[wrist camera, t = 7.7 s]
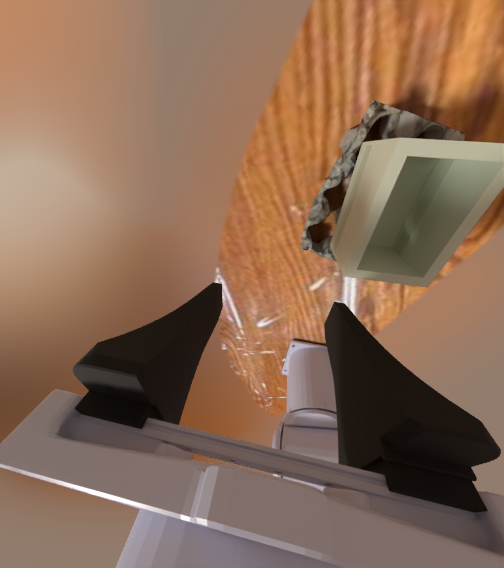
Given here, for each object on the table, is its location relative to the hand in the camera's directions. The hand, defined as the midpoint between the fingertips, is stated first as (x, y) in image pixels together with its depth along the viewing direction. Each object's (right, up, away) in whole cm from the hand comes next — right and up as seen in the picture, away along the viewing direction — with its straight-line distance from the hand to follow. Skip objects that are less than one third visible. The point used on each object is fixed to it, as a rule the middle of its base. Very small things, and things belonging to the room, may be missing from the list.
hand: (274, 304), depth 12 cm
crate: (+8, +7, +1) cm, 11 cm away
